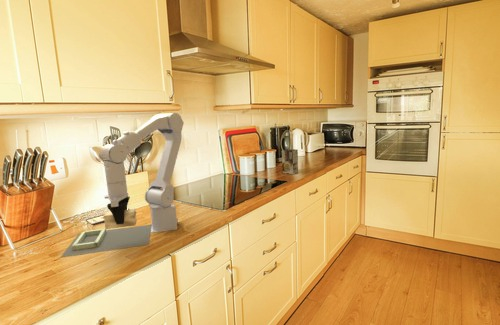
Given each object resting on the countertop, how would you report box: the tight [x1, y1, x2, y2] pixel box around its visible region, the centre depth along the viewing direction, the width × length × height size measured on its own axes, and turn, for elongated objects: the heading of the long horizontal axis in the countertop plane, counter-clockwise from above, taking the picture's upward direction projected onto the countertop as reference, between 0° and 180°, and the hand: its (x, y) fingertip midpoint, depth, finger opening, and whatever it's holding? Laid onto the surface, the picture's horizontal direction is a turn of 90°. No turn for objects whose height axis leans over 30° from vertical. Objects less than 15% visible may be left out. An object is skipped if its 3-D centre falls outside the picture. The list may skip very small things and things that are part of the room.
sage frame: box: [72, 228, 107, 250], centre depth 102 cm, size 8×13×2 cm, turn 14°
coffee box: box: [281, 148, 299, 175], centre depth 200 cm, size 9×6×16 cm
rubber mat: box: [59, 224, 152, 258], centre depth 103 cm, size 26×19×1 cm
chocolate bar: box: [85, 213, 105, 226], centre depth 128 cm, size 9×1×18 cm
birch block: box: [103, 208, 138, 230], centre depth 97 cm, size 9×4×4 cm, turn 104°
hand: (121, 221), depth 97 cm, fingers closed on birch block, 4 cm apart
